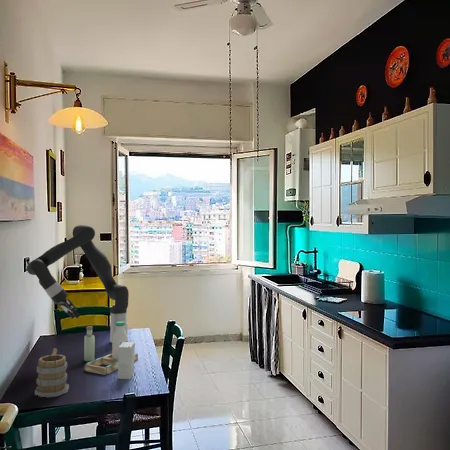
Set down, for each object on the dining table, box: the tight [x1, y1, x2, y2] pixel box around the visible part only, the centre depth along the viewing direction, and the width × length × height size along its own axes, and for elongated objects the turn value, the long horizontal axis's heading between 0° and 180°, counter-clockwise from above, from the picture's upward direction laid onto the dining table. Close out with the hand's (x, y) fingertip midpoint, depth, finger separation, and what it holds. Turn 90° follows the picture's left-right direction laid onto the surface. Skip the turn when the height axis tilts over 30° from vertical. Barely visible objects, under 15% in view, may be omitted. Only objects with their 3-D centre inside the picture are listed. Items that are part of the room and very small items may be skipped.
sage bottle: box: [83, 325, 96, 362], centre depth 230 cm, size 5×5×17 cm
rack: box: [84, 353, 139, 376], centre depth 221 cm, size 25×12×3 cm, turn 156°
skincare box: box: [117, 341, 136, 380], centre depth 205 cm, size 8×6×15 cm
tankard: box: [34, 347, 70, 398], centre depth 190 cm, size 20×13×15 cm, turn 12°
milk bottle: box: [111, 321, 129, 359], centre depth 227 cm, size 8×8×20 cm
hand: (76, 317), depth 231 cm, fingers open, 8 cm apart
